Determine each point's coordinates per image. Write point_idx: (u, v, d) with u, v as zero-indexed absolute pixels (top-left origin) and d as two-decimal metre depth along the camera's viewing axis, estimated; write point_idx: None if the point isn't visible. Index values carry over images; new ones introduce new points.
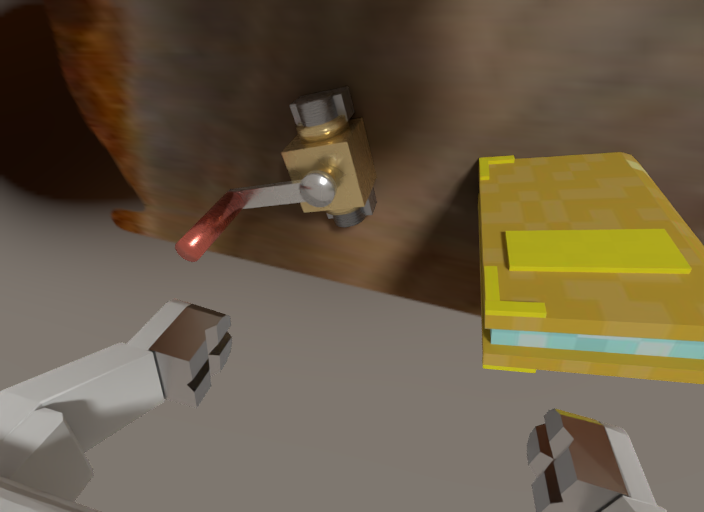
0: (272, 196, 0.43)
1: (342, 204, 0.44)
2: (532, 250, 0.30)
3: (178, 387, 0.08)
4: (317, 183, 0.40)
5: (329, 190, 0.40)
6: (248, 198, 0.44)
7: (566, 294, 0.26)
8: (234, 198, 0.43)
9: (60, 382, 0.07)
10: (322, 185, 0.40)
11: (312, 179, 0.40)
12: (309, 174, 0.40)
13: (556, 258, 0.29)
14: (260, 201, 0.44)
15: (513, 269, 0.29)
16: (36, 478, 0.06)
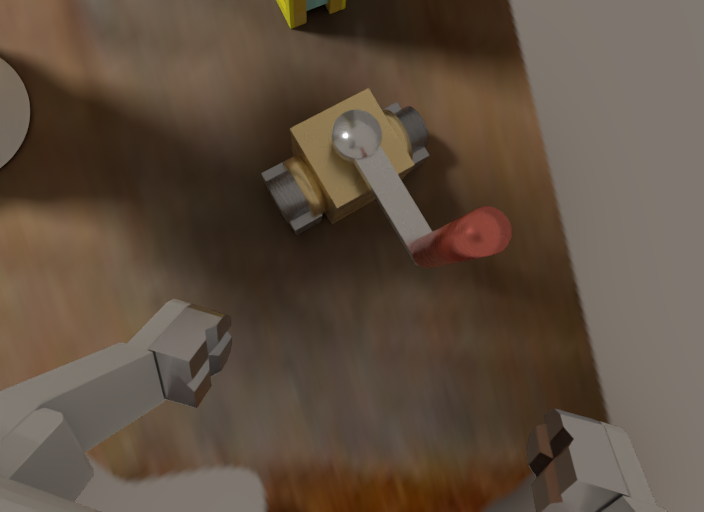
0: (394, 194, 0.30)
1: (377, 115, 0.33)
2: None
3: (178, 387, 0.08)
4: (344, 134, 0.29)
5: (348, 116, 0.30)
6: (413, 230, 0.30)
7: None
8: (416, 244, 0.28)
9: (60, 382, 0.07)
10: (344, 127, 0.30)
11: (341, 141, 0.29)
12: (337, 149, 0.30)
13: None
14: (410, 211, 0.30)
15: None
16: (36, 478, 0.06)
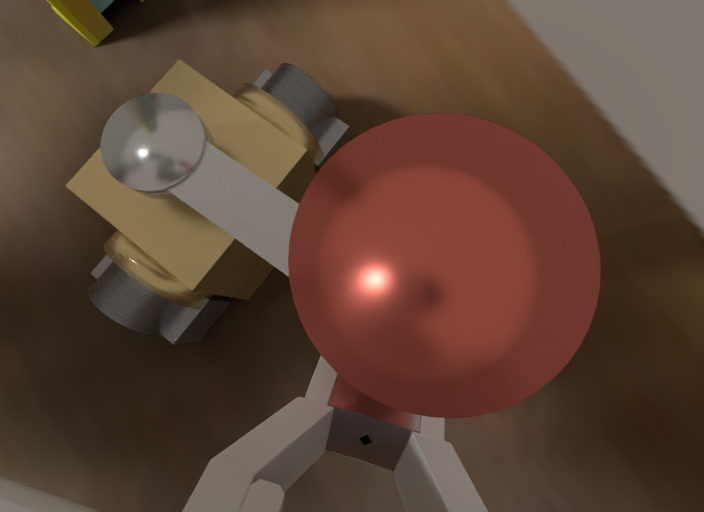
0: (269, 220, 0.14)
1: (210, 97, 0.18)
2: None
3: (347, 440, 0.08)
4: (126, 153, 0.14)
5: (122, 116, 0.15)
6: None
7: None
8: None
9: (263, 448, 0.06)
10: (122, 140, 0.14)
11: (125, 169, 0.14)
12: (129, 186, 0.14)
13: None
14: None
15: None
16: None
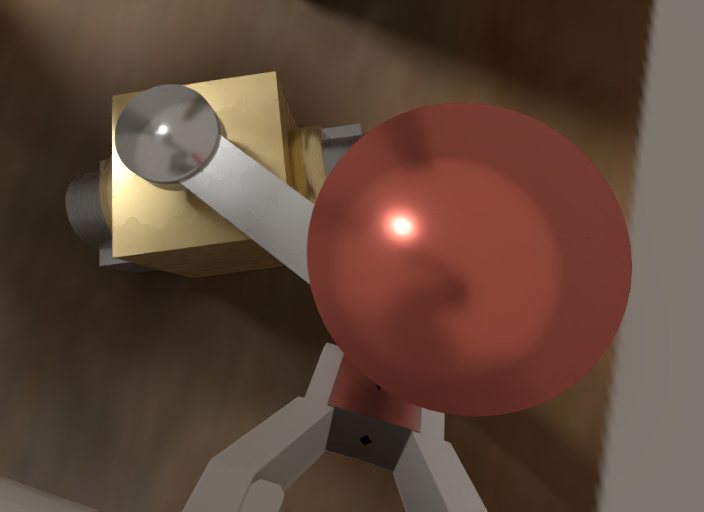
0: (279, 215, 0.14)
1: (267, 122, 0.17)
2: None
3: (346, 440, 0.08)
4: (140, 143, 0.14)
5: (137, 106, 0.15)
6: None
7: None
8: None
9: (263, 447, 0.06)
10: (136, 130, 0.14)
11: (138, 159, 0.14)
12: None
13: None
14: None
15: None
16: None
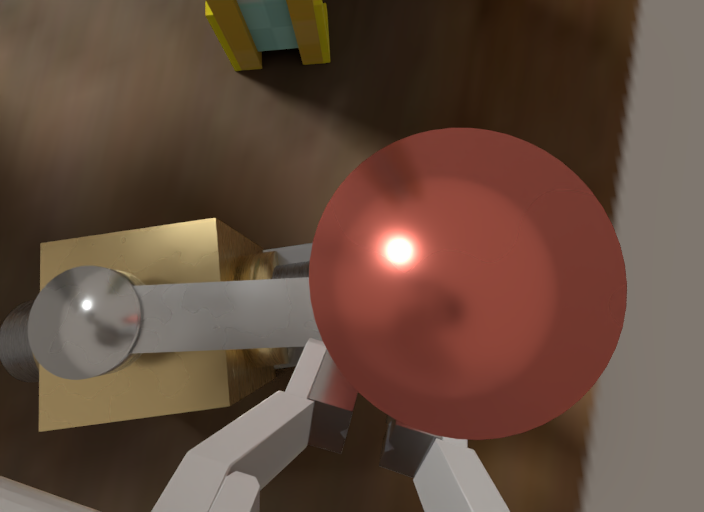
0: (241, 312, 0.13)
1: (205, 277, 0.16)
2: None
3: (328, 434, 0.08)
4: (68, 349, 0.13)
5: (39, 320, 0.13)
6: None
7: None
8: None
9: (240, 440, 0.07)
10: (55, 341, 0.13)
11: (78, 364, 0.13)
12: (92, 376, 0.13)
13: None
14: (293, 298, 0.13)
15: None
16: None
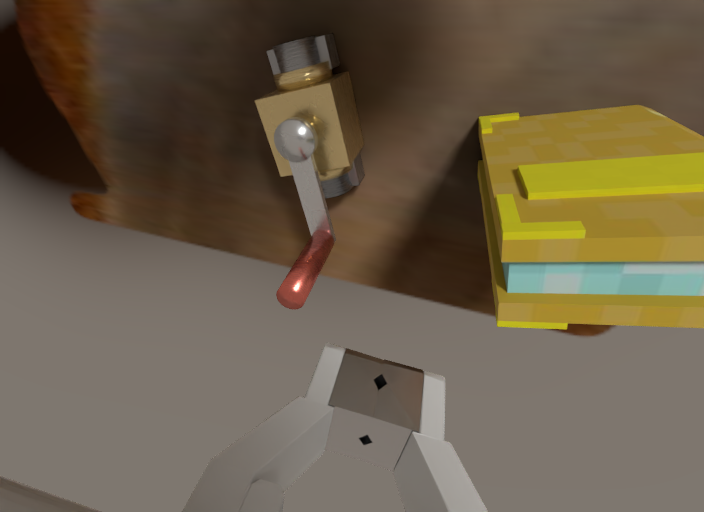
0: (310, 196, 0.38)
1: (324, 164, 0.39)
2: (553, 178, 0.24)
3: (346, 440, 0.08)
4: (283, 138, 0.35)
5: (289, 124, 0.34)
6: (317, 224, 0.40)
7: (606, 215, 0.20)
8: None
9: (263, 448, 0.06)
10: (284, 133, 0.35)
11: (279, 144, 0.36)
12: None
13: (586, 182, 0.23)
14: (319, 211, 0.39)
15: (532, 198, 0.23)
16: None
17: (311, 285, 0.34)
